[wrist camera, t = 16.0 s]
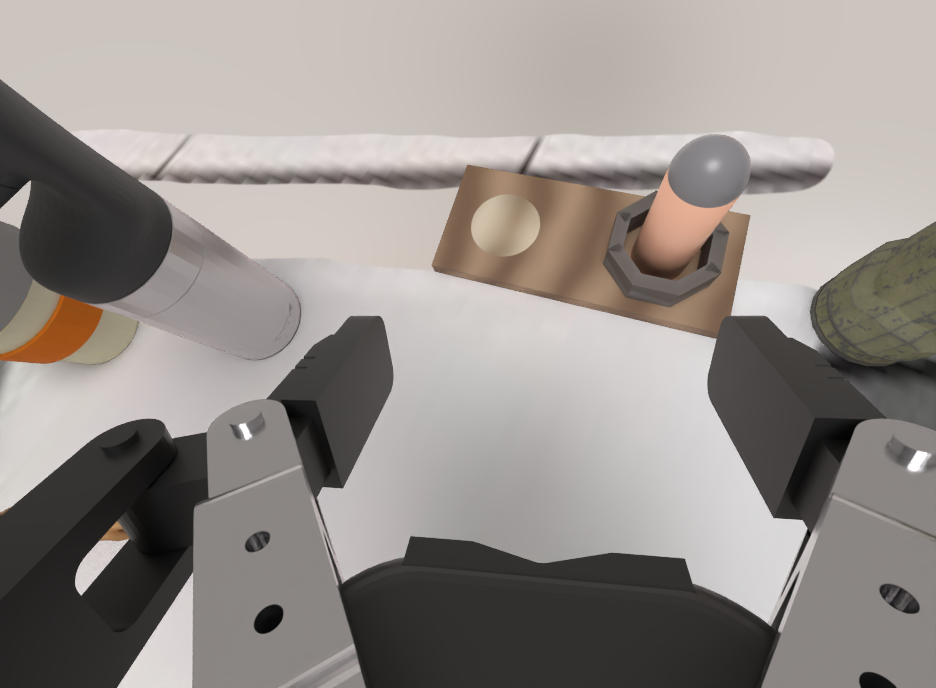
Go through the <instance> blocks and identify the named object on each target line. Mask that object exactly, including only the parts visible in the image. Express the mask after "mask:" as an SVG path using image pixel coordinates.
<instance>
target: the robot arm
mask: <svg viewBox="0 0 936 688" xmlns="http://www.w3.org/2000/svg"><path fill="white" fill-rule="evenodd" d="M30 180H31V191H30V197H29V200H28V204H27V208H26V210H25V213H24V216H23V220H22V223H21V228H20V233H19V251H20V256H21V259H22V262H23V265H24V267H25V269H26V271H27V272H28V273H29V275H30V276H31V277H32V278H33V279H34V280H35V281H36V282H37V283H39V284H40V285H42V286H43V287H45V288H47V289H48V290H50V291H53V292H55V293H58V294H60V295H63V296H66V297H69V298H72V299H75V300H77V301H80V302H83V303H86V304H89V305H92V306H95V307H97V308H100V309H103V310H106V311H109V312H112V313H115V314H118V315H120V316H124V317H127V318H130V319H133V320H135V321H138V322H141V323H144V324H147V325H150V326H153V327H156V328H158V329H161V330H164V331H167V332H170V333H173V334H176V335H178V336H181V337H184V338H187V339H190V340H193V341H196V342H199V343H201V344H204V345H207V346H210V347H213V348H216V349H218V350H221V351H224V352H227V353H230V354H233V355H236V356H239V357H242V358H245V359H251V360H258V359H264V358H267V357H269V356H272V355H274V354H275V353H277V352H279V351H280V350H281V349H282V348H284V347H285V346H286V345H287V344H288V342H289V341H290V340H291V339H292V337H293V335H294V334H295V332H296V330H297V327H298V324H299V320H300V305H299V301H298V298H297V296H296V294H295V293H294V291H293V290H292V289H291V288H290V287H289V286H288V285H287V284H285V283H284V282H282V281H281V280H279V279H278V278H277V277H275V276H274V275H272V274H271V273H269V272H268V271H267V270H265V269H264V268H263V267H261V266H260V265H258V264H257V263H255V262H254V261H253V260H251V259H250V258H248V257H247V256H245V255H244V254H242V253H241V252H240V251H238V250H237V249H235V248H234V247H232V246H231V245H230V244H228V243H227V242H225V241H224V240H222V239H221V238H220V237H218V236H216V235H215V234H214V233H212V232H211V231H210V230H208V229H207V228H205V227H204V226H202V225H201V224H200V223H198V222H196V221H195V220H194V219H192V218H191V217H189V216H188V215H187V214H185V213H183V212H182V211H180V210H179V209H178V208H176V207H175V206H173V205H172V204H171V203H169V202H168V201H166V200H165V199H163V198H162V197H161V196H159V195H158V194H157V193H155V192H154V191H152V190H151V189H149V188H148V187H146V186H145V185H143V184H142V183H141V182H139V181H138V180H136V179H135V178H133V177H132V176H130V175H129V174H127V173H126V172H125V171H123V170H122V169H120V168H119V167H117V166H116V165H114V164H113V163H112V162H110V161H109V160H107V159H106V158H104V157H103V156H102V155H100V154H99V153H97V152H96V151H94V150H93V149H92V148H90V147H89V146H87V145H86V144H85V143H83V142H82V141H80V140H79V139H78V138H76V137H75V136H73V135H72V134H71V133H69V132H68V131H67V130H65V129H64V128H63V127H61V126H60V125H59V124H57V123H56V122H55V121H53V120H52V119H51V118H49V117H48V116H47V115H45V114H44V113H43V112H41V111H40V110H39V109H38V108H36V107H35V106H34V105H32V104H31V103H29V102H28V101H27V100H26V99H25V98H23V97H22V96H21V95H20V94H18V93H17V92H16V91H14V90H13V89H12V88H11V87H9V86H8V85H7V84H5V83H4V82H3V81H1V80H0V208H1V207H2V206H3V205H4V204H5V203H7V202H8V201H9V200H10V199H11V198H12V197H13V196H14V195H15V194H16V193H17V192H18V191H19V190H20V189H21V188H22V187H23V186H24V185H25V184H26V183H27V182H29V181H30ZM392 385H393V366H392V361H391V356H390V351H389V345H388V340H387V335H386V330H385V325H384V322H383V319H382V318H381V317H380V316H350V317H349V318H348V319H347V320H346V321H345V323H344V324H343V325H342V326H341V327H340V329H339V330H338V331H337V332H336V333H335V335H330V336H328V337H326V338H325V339H323V340H321V341H320V342H318V343H317V344H315V345H314V346H313V347H312V348H311V349H310V350H309V351H308V353H307V354H306V355H305V356H304V359H301V360H300V362H299V363H298V364H297V365H296V366H295V369H293V370H292V371H291V372H290V373H289V374H288V375H287V376H286V378H285V379H284V380H283V381H282V382H281V383H280V384H279V385H278V387H277V388H276V389H275V390H274V391H273V392H272V393H271V395H270V396H269V397H268V398H267V399H266V400H255V401H250V402H246V403H243V404H241V405H238V406H236V407H233V408H231V409H230V410H228V411H226V412H225V413H223V414H222V415H220V416H219V417H218V418H217V419H216V420H215V421H214V422H213V423H212V424H211V425H210V427H209V429H208V431H207V432H206V433H200V434H195V435H189V436H184V437H178V438H173V439H172V438H171V436H170V434H169V432H168V430H167V428H166V427H165V425H164V423H163V422H161V421H159V420H156V419H140V420H135V421H131V422H127V423H124V424H121V425H119V426H116V427H114V428H112V429H110V430H107V431H106V432H104V433H102V434H100V435H99V436H97V437H96V438H94V439H93V440H91V441H90V442H89V443H87V444H86V445H85V446H84V447H83V448H81V449H80V450H79V451H78V452H77V453H75V454H74V455H73V456H72V457H71V458H70V459H68V460H67V461H66V462H65V463H64V464H62V465H61V466H60V467H59V468H58V469H56V470H55V471H54V472H53V473H52V474H50V475H49V476H48V477H47V478H46V479H44V480H43V481H42V482H41V483H40V484H38V485H37V486H36V487H35V488H34V489H33V490H31V491H30V492H29V493H28V494H27V495H25V496H24V497H23V498H22V499H21V500H19V501H18V502H17V503H16V504H15V505H13V506H12V507H11V508H10V509H9V510H7V511H6V512H5V513H4V514H3V515H1V516H0V688H117V687H118V685H119V684H120V682H121V681H122V679H123V678H124V676H125V674H126V673H127V671H128V670H129V668H130V667H131V665H132V664H133V662H134V661H135V659H136V658H137V656H138V655H139V653H140V652H141V650H142V649H143V647H144V646H145V644H146V643H147V641H148V639H149V638H150V636H151V635H152V633H153V632H154V630H155V629H156V627H157V626H158V624H159V623H160V621H161V620H162V618H163V617H164V615H165V614H166V612H167V611H168V609H169V608H170V606H171V604H172V603H173V601H174V600H175V598H176V597H177V595H178V594H179V592H180V591H181V589H182V588H183V586H184V585H185V583H186V582H187V580H188V579H189V577H190V576H191V574H192V573H193V686H192V688H936V431H933V430H931V429H928V428H926V427H923V426H920V425H916V424H913V423H909V422H905V421H900V420H893V419H887V418H886V417H885V416H884V415H883V414H882V413H881V412H880V411H879V410H878V409H877V408H876V407H874V406H873V405H872V404H871V403H870V402H869V401H868V400H867V399H866V398H865V397H864V396H863V395H862V394H861V393H860V392H859V391H858V390H857V389H856V388H855V387H854V386H853V385H852V384H850V383H849V382H848V381H844V377H843V376H842V375H841V374H840V373H839V372H838V371H837V370H836V369H835V368H831V364H830V363H829V362H828V361H826V360H825V359H824V358H823V357H822V356H821V355H820V354H819V353H818V352H817V351H816V350H814V349H812V348H810V347H809V346H807V345H805V344H803V343H801V342H799V341H797V340H795V339H793V338H787V337H786V336H785V335H784V334H783V332H782V331H781V330H780V329H779V328H778V327H777V326H776V325H775V324H774V323H773V322H772V321H771V320H770V319H769V318H768V317H766V316H726V317H725V318H724V319H723V320H722V322H721V325H720V328H719V332H718V336H717V340H716V345H715V349H714V353H713V357H712V361H711V365H710V369H709V374H708V394H709V398H710V401H711V403H712V405H713V406H714V408H715V410H716V412H717V414H718V416H719V418H720V419H721V421H722V423H723V425H724V427H725V429H726V431H727V432H728V434H729V436H730V438H731V440H732V442H733V444H734V445H735V447H736V449H737V451H738V453H739V455H740V456H741V458H742V460H743V462H744V464H745V466H746V468H747V469H748V471H749V473H750V475H751V477H752V479H753V481H754V482H755V484H756V486H757V488H758V490H759V492H760V494H761V495H762V497H763V499H764V501H765V503H766V505H767V506H768V508H769V510H770V512H771V514H772V516H773V518H781V519H797V520H803V521H804V523H805V525H806V526H807V530H806V532H805V534H804V537H803V539H802V541H801V543H800V546H799V548H798V551H797V553H796V556H795V558H794V561H793V563H792V565H791V568H790V570H789V573H788V575H787V578H786V580H785V583H784V585H783V588H782V590H781V593H780V595H779V598H778V600H777V603H776V605H775V608H774V610H773V612H772V615H771V617H770V619H769V622H768V624H767V623H766V622H765V621H763V620H762V619H761V618H759V617H758V616H756V615H755V614H753V613H752V612H750V611H749V610H747V609H745V608H744V607H742V606H741V605H739V604H737V603H735V602H733V601H732V600H730V599H728V598H726V597H724V596H722V595H720V594H718V593H716V592H713V591H711V590H709V589H706V588H704V587H701V586H698V585H695V584H692V581H691V578H690V574H689V571H688V568H687V565H686V561H685V559H682V558H670V557H658V556H646V555H633V554H621V553H608V554H601V555H595V556H589V557H582V558H576V559H570V560H564V561H557V562H551V563H537V562H533V561H530V560H527V559H524V558H521V557H518V556H515V555H512V554H509V553H506V552H503V551H500V550H497V549H494V548H491V547H488V546H485V545H482V544H479V543H476V542H473V541H462V540H450V539H437V538H425V537H413V536H411V537H410V540H409V544H408V547H407V550H406V554H405V557H404V558H399V559H394V560H391V561H387V562H384V563H381V564H378V565H376V566H373V567H371V568H368V569H366V570H364V571H362V572H360V573H359V574H357V575H355V576H353V577H351V578H350V579H348V580H347V581H345V582H344V580H343V577H342V574H341V571H340V568H339V564H338V561H337V558H336V555H335V552H334V549H333V545H332V542H331V539H330V536H329V533H328V530H327V527H326V523H325V520H324V517H323V514H322V511H321V508H320V505H319V502H318V499H317V496H318V494H319V493H320V491H321V489H322V487H331V488H343V487H344V485H345V483H346V481H347V479H348V477H349V475H350V473H351V471H352V469H353V467H354V465H355V463H356V461H357V459H358V457H359V455H360V453H361V451H362V449H363V447H364V445H365V443H366V441H367V439H368V437H369V435H370V433H371V430H372V428H373V426H374V424H375V422H376V420H377V418H378V416H379V414H380V412H381V410H382V408H383V406H384V404H385V402H386V400H387V398H388V396H389V394H390V392H391V389H392ZM117 521H118V522H119V524H120V525H121V527H122V528H123V529H124V531H125V532H126V534H127V535H128V536H129V538H130V539H129V540H128V541H127V543H126V544H125V545H124V546H123V547H122V549H121V550H120V551H119V552H118V553H117V554H116V556H115V557H114V558H113V559H112V560H111V562H110V563H109V564H108V565H107V566H106V567H105V569H104V570H103V571H102V572H101V573H100V575H99V576H98V577H97V578H96V579H95V580H94V582H93V583H92V584H91V585H90V586H89V588H88V589H87V590H86V591H85V592H84V593H83V595H82V596H81V595H80V594H79V593H78V591H77V590H76V587H75V576H76V572H77V569H78V567H79V565H80V563H81V561H82V560H83V558H84V557H85V556H86V555H87V554H88V553H89V551H90V550H91V549H92V548H93V547H94V546H95V545H96V544H97V543H98V542H99V540H100V539H101V538H102V537H103V536H104V535H105V534H106V533H107V532H108V531H109V529H110V528H111V527H112V526H113V525H114V524H115V523H116V522H117Z"/></svg>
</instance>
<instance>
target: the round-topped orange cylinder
mask: <svg viewBox="0 0 936 688" xmlns="http://www.w3.org/2000/svg"><path fill="white" fill-rule="evenodd" d="M750 173H751V161H750V157H749V155H748V152H747V150H746V149H745V147H744V146H743V145H742V144H741V143H740V142H738V141H737V140H735V139H734V138H732V137H729V136H726V135H718V134H715V135H706V136H702V137H699V138H697V139H695V140H693V141H691V142H689V143H688V144H686V145H685V146H684V147H683V148H682V149H680V151H679V152H678V153H677V154H676V155H675V157H674V158H673V160H672V161H671V163H670V166H669V168H668V170H667V172H666V174H665V177H664V179H663V181H662V183H661V186H660V188H659V190H658V192H657V195H656V197H655V199H654V201H653V204H652V206H651V208H650V210H649V213H648V215H647V217H646V219H645V221H644V224H643V226H642V228H641V230H640V233H639V235H638V237H637V239H636V242H635V244H634V246H633V248H632V251H631V260H632V261H633V262H634V264H635V265H636V266H637V268H638V269H639V271H640V272H641V273H642V274H646V275H650V276H655V277H660V278H664V279H669V280H672V279H674V278H676V277H678V276H679V275H680V274H681V273H682V272H683V270H684V269H685V268H686V267H687V265H688V264H689V263H690V261H691V260H692V259H693V257H694V256H695V255H696V253H697V252H698V251H699V249H700V248H701V247H702V245H703V244H704V243H705V241H706V240H707V239H708V237H709V236H710V235H711V233H712V232H713V231H714V229H715V228H716V227H717V225H718V224H719V223H720V221H721V220H722V219H723V217H724V216H725V215H726V214H727V212H728V211H729V210H730V208H731V207H732V206H733V204H734V203H735V202H736V200H737V199H738V198H739V196H740V195H741V194H742V192H743V191H744V189H745V187H746V186H747V183H748V181H749V178H750Z"/></svg>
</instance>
